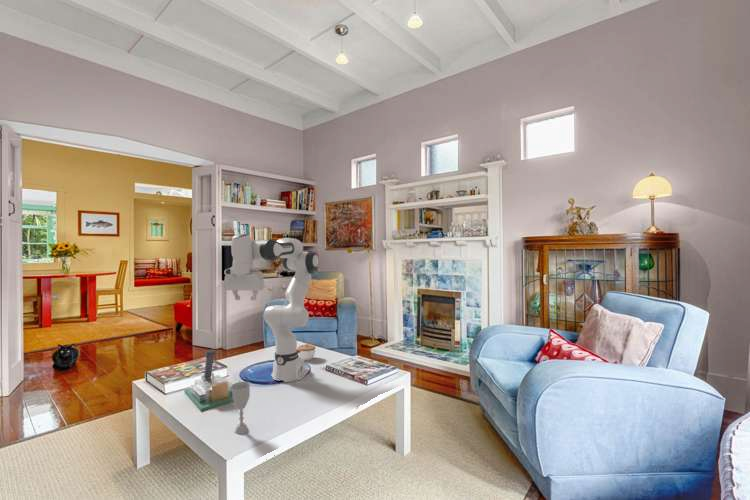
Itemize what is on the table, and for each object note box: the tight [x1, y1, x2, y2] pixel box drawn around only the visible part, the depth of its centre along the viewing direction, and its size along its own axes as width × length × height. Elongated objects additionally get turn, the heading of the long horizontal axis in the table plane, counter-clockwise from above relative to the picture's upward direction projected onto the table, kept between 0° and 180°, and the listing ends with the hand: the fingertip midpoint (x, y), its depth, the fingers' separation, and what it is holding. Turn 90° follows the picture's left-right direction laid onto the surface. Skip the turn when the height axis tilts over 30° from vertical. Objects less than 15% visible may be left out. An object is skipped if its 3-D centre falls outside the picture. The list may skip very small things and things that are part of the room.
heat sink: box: [190, 371, 234, 402], centre depth 169 cm, size 16×15×7 cm
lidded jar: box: [297, 343, 316, 362], centre depth 221 cm, size 11×11×9 cm
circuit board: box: [183, 387, 234, 412], centre depth 170 cm, size 26×18×1 cm
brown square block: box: [210, 381, 228, 403], centre depth 162 cm, size 2×7×7 cm, turn 132°
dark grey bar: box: [203, 349, 216, 379], centre depth 173 cm, size 16×4×2 cm
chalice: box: [231, 381, 252, 435], centre depth 138 cm, size 7×7×18 cm
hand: (245, 300), depth 161 cm, fingers open, 8 cm apart
